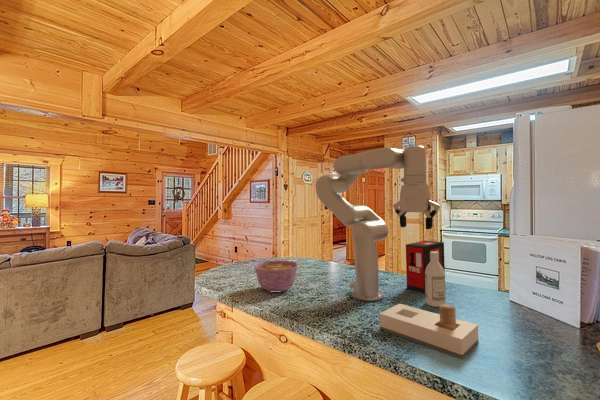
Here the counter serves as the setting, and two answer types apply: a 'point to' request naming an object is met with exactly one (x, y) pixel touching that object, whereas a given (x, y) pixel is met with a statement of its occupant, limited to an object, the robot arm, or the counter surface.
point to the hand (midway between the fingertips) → (415, 227)
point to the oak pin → (447, 317)
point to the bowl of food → (276, 274)
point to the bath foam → (435, 282)
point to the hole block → (429, 330)
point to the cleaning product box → (421, 262)
